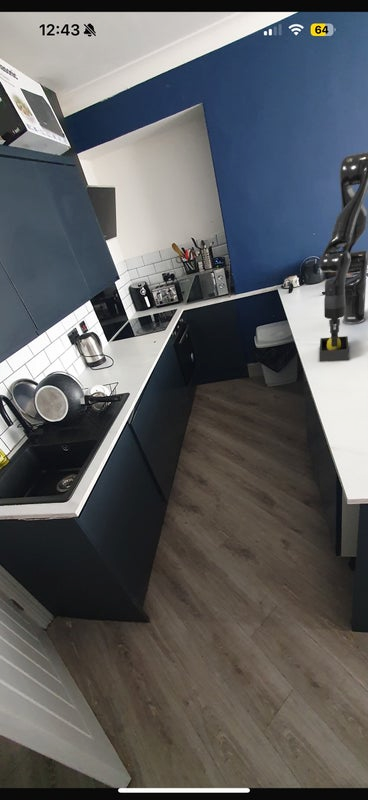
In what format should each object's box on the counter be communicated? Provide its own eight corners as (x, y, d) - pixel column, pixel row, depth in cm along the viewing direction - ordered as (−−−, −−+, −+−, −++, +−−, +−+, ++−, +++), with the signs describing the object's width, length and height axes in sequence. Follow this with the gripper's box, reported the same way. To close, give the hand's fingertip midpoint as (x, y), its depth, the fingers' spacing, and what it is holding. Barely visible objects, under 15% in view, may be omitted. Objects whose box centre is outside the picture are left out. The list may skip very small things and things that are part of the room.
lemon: (339, 356, 132) (339, 338, 128) (325, 355, 135) (325, 338, 131) (341, 350, 136) (342, 333, 132) (328, 350, 139) (328, 333, 135)
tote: (320, 347, 143) (320, 338, 140) (347, 346, 138) (347, 336, 136) (319, 361, 133) (319, 351, 131) (348, 360, 128) (348, 349, 126)
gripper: (345, 309, 117) (344, 348, 126) (344, 297, 128) (343, 334, 136) (324, 311, 121) (324, 349, 129) (324, 300, 131) (324, 336, 139)
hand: (334, 341), depth 132 cm, fingers open, 8 cm apart
